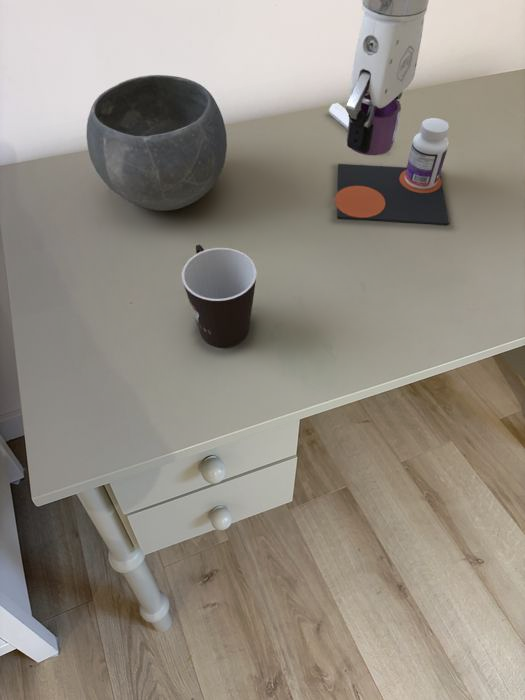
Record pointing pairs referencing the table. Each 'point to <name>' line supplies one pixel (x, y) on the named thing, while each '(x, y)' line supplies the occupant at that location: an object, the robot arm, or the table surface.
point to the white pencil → (339, 114)
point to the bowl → (157, 141)
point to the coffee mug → (220, 294)
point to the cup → (382, 127)
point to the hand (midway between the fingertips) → (370, 136)
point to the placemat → (387, 196)
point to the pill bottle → (427, 154)
